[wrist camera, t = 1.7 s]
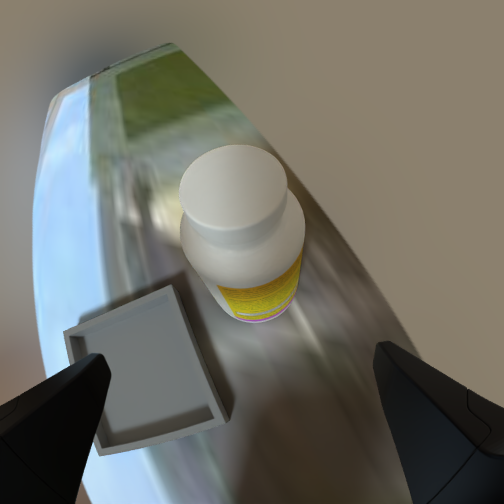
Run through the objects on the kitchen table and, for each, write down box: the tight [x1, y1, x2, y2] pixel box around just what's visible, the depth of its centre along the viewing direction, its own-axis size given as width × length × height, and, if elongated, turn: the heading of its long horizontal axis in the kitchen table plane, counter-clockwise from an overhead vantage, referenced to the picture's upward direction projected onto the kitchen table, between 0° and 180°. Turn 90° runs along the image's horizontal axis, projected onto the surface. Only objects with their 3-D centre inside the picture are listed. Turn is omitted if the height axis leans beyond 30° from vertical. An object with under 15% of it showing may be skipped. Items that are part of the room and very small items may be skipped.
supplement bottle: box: [179, 145, 305, 323], centre depth 18 cm, size 7×7×13 cm
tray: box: [63, 285, 230, 456], centre depth 20 cm, size 11×11×2 cm
